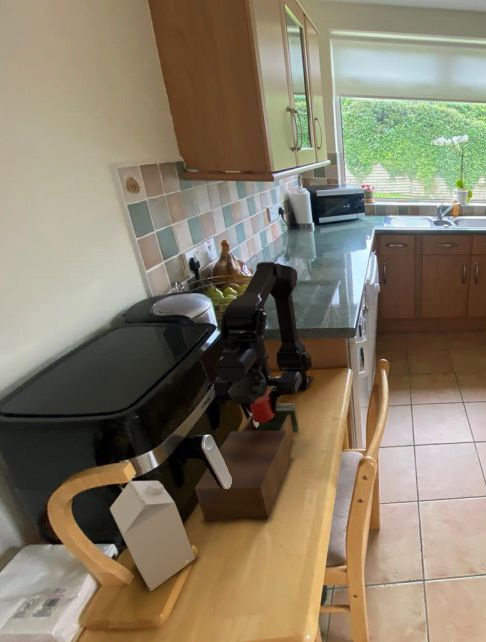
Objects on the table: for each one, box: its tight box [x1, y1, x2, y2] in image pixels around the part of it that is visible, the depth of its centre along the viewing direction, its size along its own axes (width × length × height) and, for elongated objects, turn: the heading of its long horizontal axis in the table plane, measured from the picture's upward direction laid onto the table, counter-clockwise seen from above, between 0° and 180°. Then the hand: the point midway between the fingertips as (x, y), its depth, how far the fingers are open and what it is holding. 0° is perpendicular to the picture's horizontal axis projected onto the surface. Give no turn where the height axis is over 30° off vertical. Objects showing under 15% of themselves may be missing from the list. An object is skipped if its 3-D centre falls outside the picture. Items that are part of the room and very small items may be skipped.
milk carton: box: [109, 480, 196, 592], centre depth 64 cm, size 7×7×19 cm
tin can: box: [250, 390, 275, 423], centre depth 89 cm, size 5×5×6 cm
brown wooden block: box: [194, 430, 292, 521], centre depth 81 cm, size 16×13×9 cm
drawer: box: [240, 402, 301, 447], centre depth 92 cm, size 19×11×7 cm, turn 2°
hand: (263, 412), depth 89 cm, fingers closed on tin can, 5 cm apart
